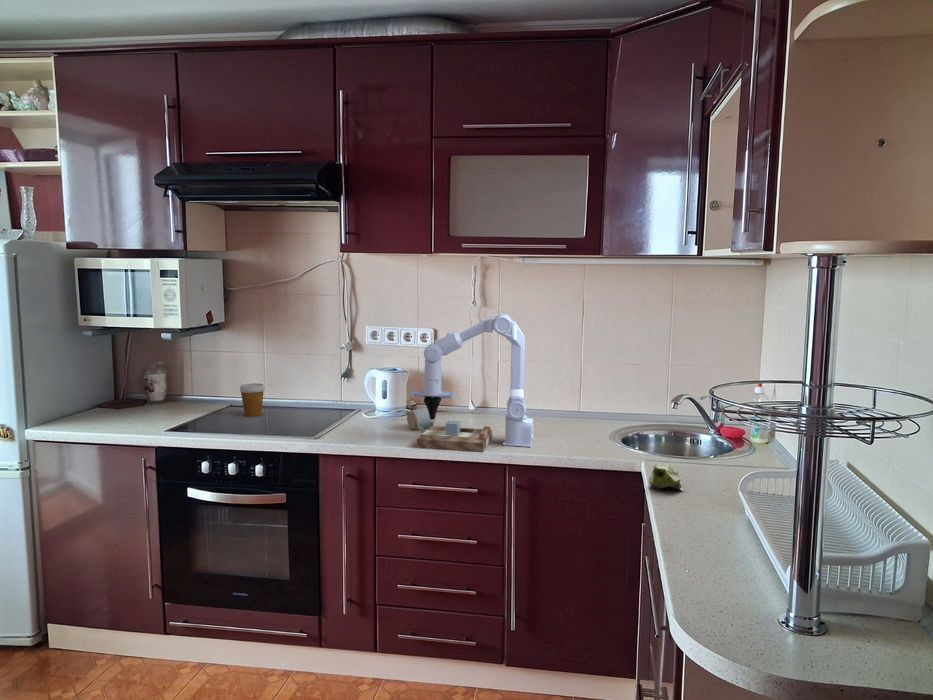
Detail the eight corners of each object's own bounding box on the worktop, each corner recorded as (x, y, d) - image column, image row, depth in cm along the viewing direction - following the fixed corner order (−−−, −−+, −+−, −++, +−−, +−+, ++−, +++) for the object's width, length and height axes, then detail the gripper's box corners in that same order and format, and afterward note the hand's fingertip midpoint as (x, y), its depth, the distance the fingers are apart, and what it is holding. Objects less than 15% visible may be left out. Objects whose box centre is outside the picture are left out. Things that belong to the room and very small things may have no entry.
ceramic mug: (405, 428, 243) (405, 407, 242) (424, 425, 248) (424, 405, 246) (420, 434, 234) (420, 413, 233) (439, 431, 239) (439, 410, 238)
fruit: (661, 499, 174) (656, 470, 173) (644, 491, 183) (639, 463, 182) (692, 490, 176) (687, 462, 175) (673, 482, 185) (668, 455, 184)
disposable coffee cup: (261, 411, 268) (260, 382, 266) (268, 415, 260) (267, 386, 258) (237, 414, 262) (236, 384, 261) (244, 418, 255) (243, 388, 253)
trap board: (491, 438, 230) (492, 424, 229) (483, 452, 212) (483, 436, 212) (430, 434, 234) (430, 420, 233) (417, 447, 216) (417, 432, 216)
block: (459, 432, 224) (459, 421, 224) (457, 435, 221) (457, 424, 220) (448, 432, 225) (448, 420, 225) (445, 435, 221) (445, 423, 221)
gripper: (456, 378, 224) (456, 417, 226) (415, 376, 227) (415, 414, 229) (451, 381, 218) (451, 421, 219) (409, 379, 220) (409, 419, 222)
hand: (432, 418), depth 224 cm, fingers closed
